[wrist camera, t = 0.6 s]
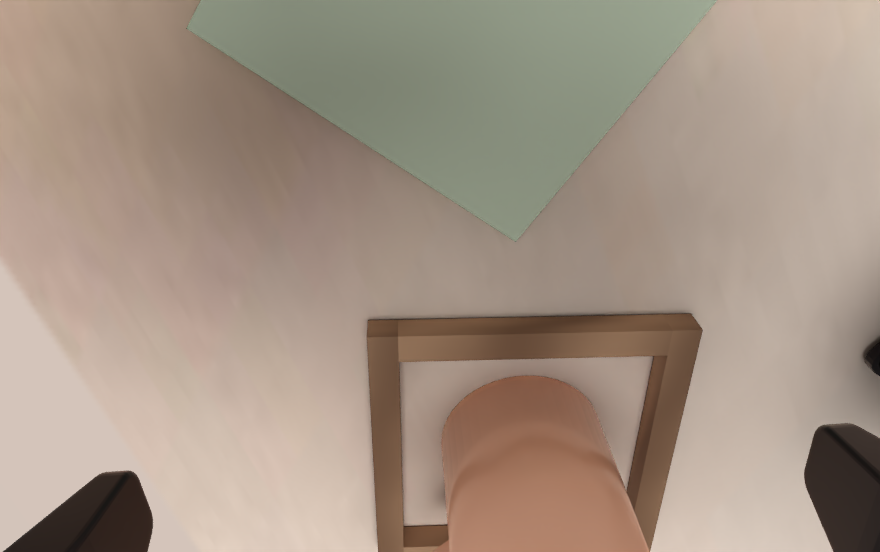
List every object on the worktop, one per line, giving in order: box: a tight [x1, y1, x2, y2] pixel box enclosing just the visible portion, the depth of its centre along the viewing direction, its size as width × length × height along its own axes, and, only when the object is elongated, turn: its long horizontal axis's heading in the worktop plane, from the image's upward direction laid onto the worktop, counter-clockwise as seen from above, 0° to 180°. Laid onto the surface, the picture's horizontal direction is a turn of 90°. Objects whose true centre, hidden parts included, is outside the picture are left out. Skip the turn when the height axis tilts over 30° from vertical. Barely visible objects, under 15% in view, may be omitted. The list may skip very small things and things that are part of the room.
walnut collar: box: [367, 314, 703, 552], centre depth 25 cm, size 11×11×1 cm
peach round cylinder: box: [432, 376, 650, 552], centre depth 22 cm, size 7×6×8 cm
